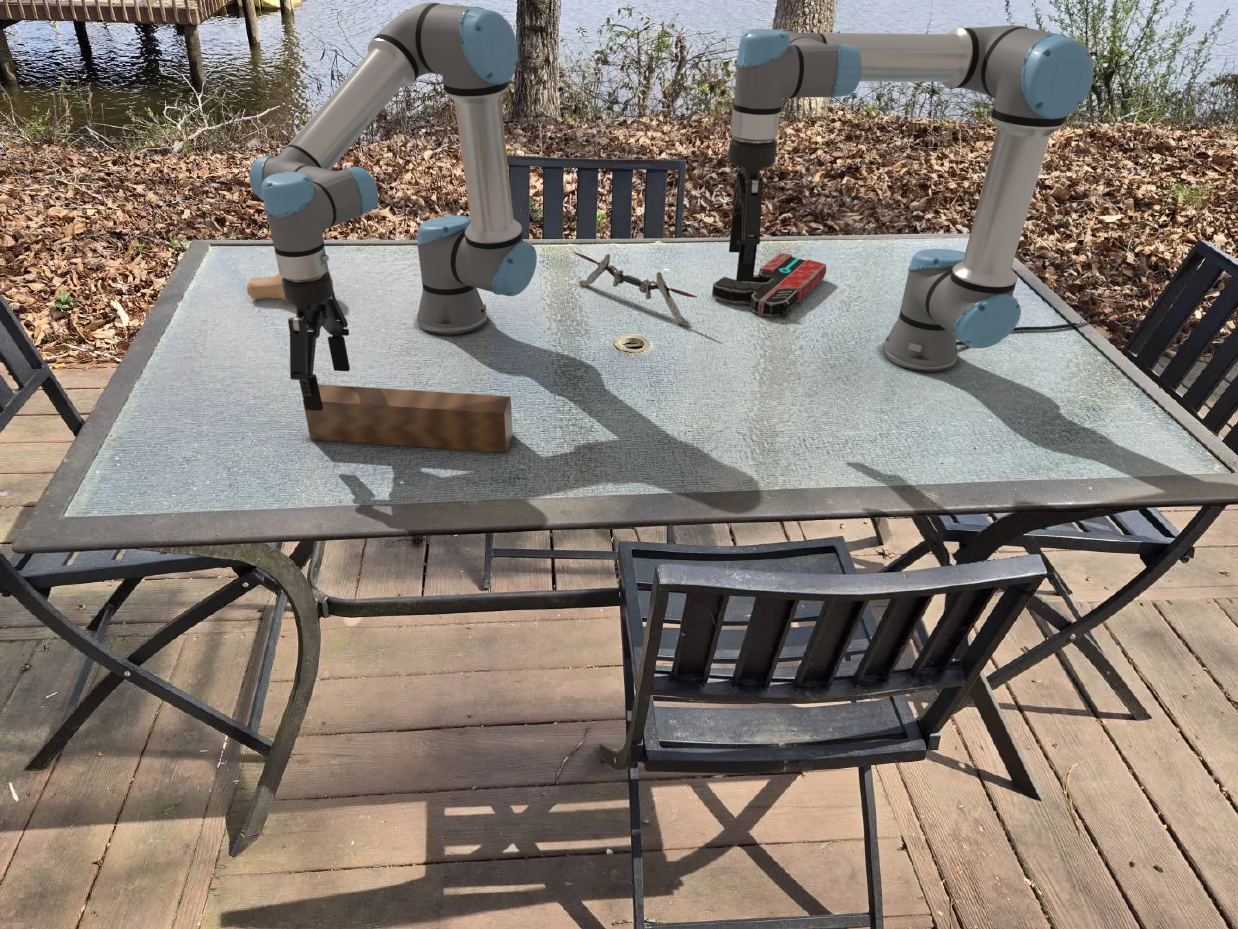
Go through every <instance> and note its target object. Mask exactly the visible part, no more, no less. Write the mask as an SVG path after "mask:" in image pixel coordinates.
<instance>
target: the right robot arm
mask: <svg viewBox="0 0 1238 929" xmlns="http://www.w3.org/2000/svg"><path fill="white" fill-rule="evenodd" d="M735 63H736V64H735V66H736V70H735V84H734V85H735V86H734V98H733V106H732V112H731V120H730V135H731V136H732V137H731V139H730V140H729V149H728V161H729V162H730V164H731V165H733V166H736V167H737V172H736V176H735V177H736V178H735V183H734V188H733V195H732V201H731V207H732V208H731V211H732V215H731V225H730V236H729V246H728V253H736V254H737V253H738V258H737V259H738V260H737V267H736V270H737V271H736V278H735V279H736V281H744V282H753V277H754V275H755V268H756V258H757V251H758V245H760V244H761V225H762V224H761V223H762V204H763V202H762V201H763V189H764V188H763V187H764V184H765V183H764V177H762V173H761V170H762V169H764V168H765V169H767V168H770V167H772V166H774V165H775V163H776V157H777V151H778V150H777V148H778V142H777V140H776V138H778V137H779V129H780V126H779V124H783V123H784V120H785V119H784V116H781V112H782V110H783V109H782V108H783V101H784V99H795V98H800V99H801V98H802V99H803V98H830V99H834V98H841V97H847V96H850V95H851V94H853V93H854V92H855V91H856V89H857V88H858V86H859V83H860V82H866V83H867V82H870V83H871V82H873V83H874V82H879V83H880V82H884V83H885V82H886V83H887V82H888V83H889V82H891V83H893V82H896V83H897V82H899V83H900V82H901V83H902V82H904V83H905V82H906V83H907V82H910V83H911V82H912V83H913V82H914V83H918V82H919V83H920V82H921V83H927V82H928V83H929V82H930V83H937V82H938V83H941V84H942V85H943V87H945V88H947V89H964V90H969V91H972V92H976V93H980V94H982V95H985V96H988V97H991V98H993V99H994V103H993V107H992V109H991V110H992V111H991V115H990V119H991V121H992V123H994V125H995V127H996V133H995V137H994V139H993V140H994V141H993V145H992V147H991V148H992V149H991V152H990V156H989V159H988V164H987V166H986V167H987V168H986V172H985V175H984V179H983V182H982V187H981V190H980V193H979V197H978V198H979V199H978V203H977V206H976V210H975V212H974V213H975V214H974V218H973V221H972V225H971V229H970V233H969V237H968V241H967V245H966V248H965V251H961V250H958V249H957V250H956V249H949V248H927V249H921V250H918V251H917V252H916V253H914V254H913V256H912V257H911V260H910V264H909V266H908V268H907V271H908V273H907V278H906V282H905V286H904V291H903V296H902V299H901V305H900V310H899V315H898V318H897V320H896V321H895V323H894V325H893V326H892V328H891V329H890V332H889V334H888V335H887V336H886V338H885V340H884V343H883V346H882V354H883V356H885V357H884V358H886V359H887V360H888V361H890V362H891V363H893V364H895V365H896V366H899V367H902V368H904V369H908V370H911V371H917V372H925V373H936V372H937V373H938V372H943V371H948V370H950V369H952V368H953V367H955V365H956V363H957V360H958V354H959V350H958V346H968V347H969V348H972V349H986V348H990V347H993V346H995V345H997V344H999V343H1000V342H1002V341H1003V340H1004V339H1005V338H1006V339H1007V337H1008V336H1009V335H1011V334H1012V332H1018V331H1047V330H1048V331H1050V330H1059V329H1065V328H1071V327H1075V326H1078V325H1080V324H1076V323H1074V322H1070V323H1066V324H1057V325H1046V326H1018V327H1017V325H1018V323H1019V321H1020V318H1021V314H1022V308H1021V305H1020V304H1019V301H1018V299H1017V298H1015V297H1014V292H1015V289H1016V285H1017V281H1018V275H1017V274H1016V272H1014V270H1013V264H1014V262H1015V261H1014V260H1015V257H1016V253H1017V251H1018V247H1019V244H1020V242H1021V241H1020V240H1021V237H1022V234H1023V231H1024V227H1025V223H1026V220H1027V216H1028V214H1029V211H1030V210H1029V209H1030V206H1031V203H1032V200H1033V195H1034V192H1035V189H1036V186H1037V181H1038V178H1039V175H1040V172H1041V169H1042V165H1043V162H1044V158H1045V154H1046V151H1047V148H1048V144H1049V142H1050V138H1051V136H1052V134H1053V133H1055V132H1056V131H1058V130H1059V129H1061V128H1063V126H1064V124H1065V121H1066V117H1067V116H1069V115H1071V114H1073V113H1074V112H1076V110H1078V106H1079V105H1080V104H1081V105H1082V104H1083V103H1084V101H1085V100H1086V98H1087V96H1088V94H1089V92H1090V90H1091V87H1092V84H1093V80H1094V62H1093V59H1092V56H1091V54H1090V53H1089V50H1088V49H1087V47H1086V46H1085V45H1084V44H1083V43H1082V42H1080V41H1079V40H1076V39H1073V38H1071V37H1070V36H1067V35H1065V34H1063V33H1062V34H1061V33H1056V32H1051V31H1047V30H1041V29H1036V28H1031V27H1029V26H1028V27H1027V26H1024V25H996V26H980V27H978V26H977V27H955V28H954V29H952V30H950V32H949V33H886V32H885V33H884V32H882V33H879V32H878V33H877V32H876V33H874V32H871V33H870V32H800V31H799V32H797V31H794V30H792V29H789V28H788V29H786V28H785V29H783V28H780V29H772V28H771V29H769V28H754V29H748V30H746V31H745V32H743V33H742V35H741V37H740V39H739V45H738V50H737V58H736V61H735ZM1089 318H1095V315H1094V313H1093V312H1092V311H1089V312H1088V313H1086V315H1084V317H1083V318H1082V319H1084V320H1085V322H1086V321H1087V320H1088V319H1089ZM1082 319H1081V321H1082ZM1080 323H1081V322H1080ZM1081 324H1082V323H1081Z"/></svg>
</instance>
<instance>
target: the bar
mask: <svg viewBox="0 0 1238 929" xmlns="http://www.w3.org/2000/svg"><path fill="white" fill-rule="evenodd" d="M318 387H319V391H320V396H321V401H322V405H323V409H322V411H316V410H306V408H305V404H304V400H303V399H302V403H303V409H304V413H305V418H306V424H307V428H308V433H309V438H310V439H309V440H311V441H326V442H338V443H339V442H340V443H354V444H355V443H357V444H370V445H371V444H372V445H384V446H385V445H386V446H398V447H399V446H401V447H402V446H403V447H415V448H416V447H417V448H428V449H429V448H430V449H443V450H445V449H447V450H462V451H477V452H488V453H489V452H491V453H492V452H493V453H506V454H507V452H508V450H509V447H510V444H511V442H512V438H513V436H514V434H513V433H514V432H513V417H512V416H513V415H512V397H511V396H509V395H508V396H507V395H494V394H480V393H479V394H477V393H464V392H463V393H462V392H460V393H459V392H447V391H446V392H445V391H432V390H431V391H430V390H415V389H399V388H383V387H369V386H368V387H366V386H354V385H353V386H352V385H334V384H321V383H318Z"/></svg>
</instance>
